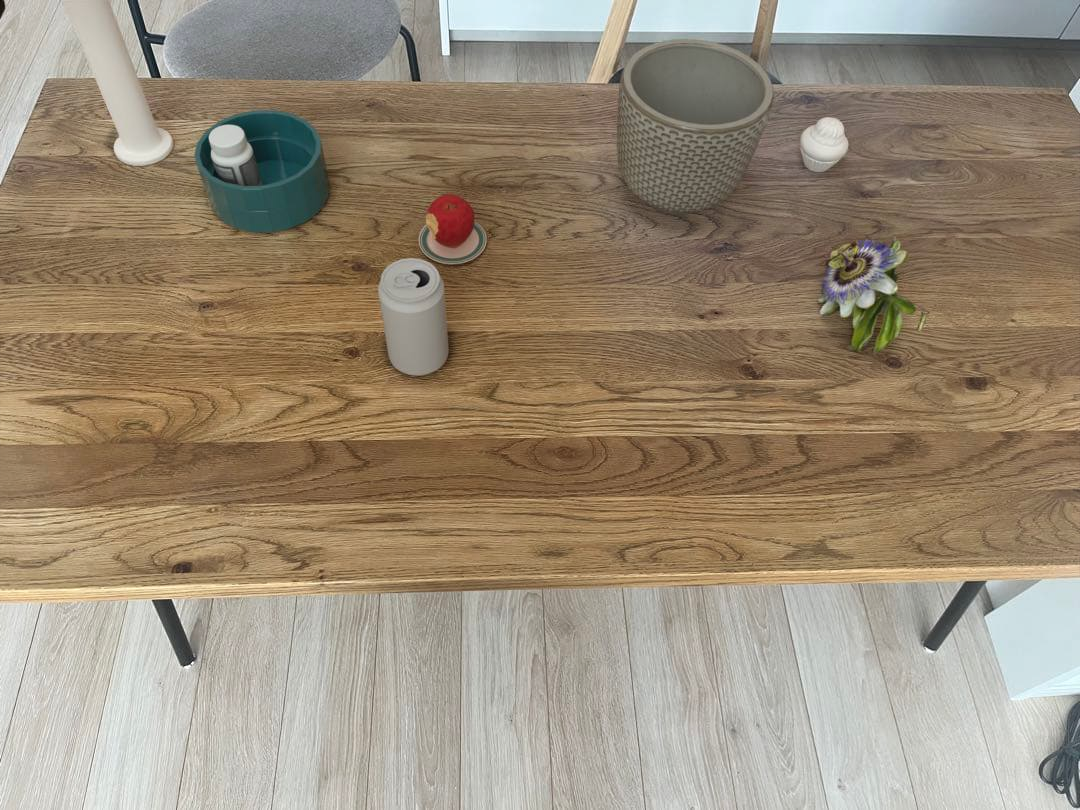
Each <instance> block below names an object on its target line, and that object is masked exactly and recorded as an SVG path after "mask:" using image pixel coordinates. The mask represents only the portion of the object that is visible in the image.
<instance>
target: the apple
mask: <svg viewBox="0 0 1080 810" xmlns="http://www.w3.org/2000/svg"><path fill="white" fill-rule="evenodd" d="M475 216H476V215H475V211H474V208H473V207H472V206H471V204H470V203H469V202H468V201H467V200H466V199H464V198H463V197H461V196H459V195H457V194H453V193H452V194H451V193H447V194H442V195H440V196H438V197H437V198H435V199H434V200H433V201H432V203H431V204H429V207H428V209H427V211H426V215H425V223H426V224H425V225H424V226H423V227H422V229H421V230H420V232H419V234H418V245H419V248H420V251H421V252H422V253H423V254H424V255H425V256H426V257H427V258H428V259H431V260H432V261H434V262H436V263H440V264H444V265H460V264H465V263H469V262H471V261H472V260H474V259H476V258H477V257H479V256H480V255H482V253H483V252H484V250H485V248H486V246H487V234H486V231H485V230H484V228H483V227H482V226H481V225H480V223H478V222H477V221H476V217H475Z"/></svg>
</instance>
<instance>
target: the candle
mask: <svg viewBox="0 0 1080 810" xmlns="http://www.w3.org/2000/svg"><path fill="white" fill-rule="evenodd" d="M61 1H62V3H63V6H64V8H65V11H66V14H67V15H68V18H69V21H70V22H71V25H72V27H73V29H74V32H75V35H76V37H77V39H78V41H79V44H80V46H81V49H82V51H83V52H84V55H85V58H86V61H87V62H88V65H89V67H90V70H91V72H92V74H93V77H94V79H95V82H96V84H97V87H98V88H99V91H100V93H101V96H102V98H103V101H104V103H105V105H106V107H107V110H108V112H109V115H110V118H111V120H112V122H113V124H114V127H115V129H116V131H117V134H118V137H117V138H116V139H115V141H114V144H113V152H114V155H115V156H116V159H118V160H119V161H120V162H121V163H123V164H126V165H129V166H134V167H145V166H150V165H154V164H156V163H159V162H161V161H163V160H164V159H166V158H167V157H168V156H169V155H170V154H171V152H172V151H173V148H174V140H173V137H172V135H171V134H170V132H169V131H167V130H166V129H164V128H162V127H159V126H157V124H156V122H155V120H154V116H153V113H152V111H151V108H150V106H149V103H148V99H147V97H146V95H145V92H144V90H143V87H142V84H141V82H140V79H139V76H138V74H137V71H136V68H135V66H134V63H133V60H132V58H131V55H130V52H129V51H128V47H127V45H126V42H125V39H124V37H123V34H122V31H121V28H120V25H119V23H118V20H117V17H116V15H115V12H114V10H113V7H112V4H111V2H110V0H61Z"/></svg>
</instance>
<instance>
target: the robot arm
mask: <svg viewBox="0 0 1080 810" xmlns="http://www.w3.org/2000/svg"><path fill="white" fill-rule="evenodd" d="M5 11H6V3H5V0H0V20H1V18H2V16H3V15H4V13H5Z"/></svg>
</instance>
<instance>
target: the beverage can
mask: <svg viewBox="0 0 1080 810" xmlns="http://www.w3.org/2000/svg"><path fill="white" fill-rule="evenodd" d="M377 293H378V300H379V306H380V311H381V317H382V324H383V330H384V336H385V342H386V343H385V344H386V350H387V355H388V359H389V361H390V363H391V365H392V366H393V367H394V368H395V369H396V370H398V371H399V372H401V373H403V374H406V375H409V376H425V375H429V374H432V373H435V372H436V371H438V370H439V369H441V367H443V366H444V364H445V363H446V361H447V359H448V356H449V350H450V349H449V336H448V335H449V334H448V320H447V305H446V293H445V283H444V279H443V278H442V276H441V275H440V273H439V270H438V269H437V268H436V267H435V265H434V264H432V263H431V262H429V261H427V260H425V259H421V258H417V257H416V258H415V257H407V258H401V259H398V260H396V261H394V262H392V263H390V264H389V265H387V266H386V268H385V269H384V270H383V271H382V273H381V276H380V281H379V283H378V286H377Z"/></svg>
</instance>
